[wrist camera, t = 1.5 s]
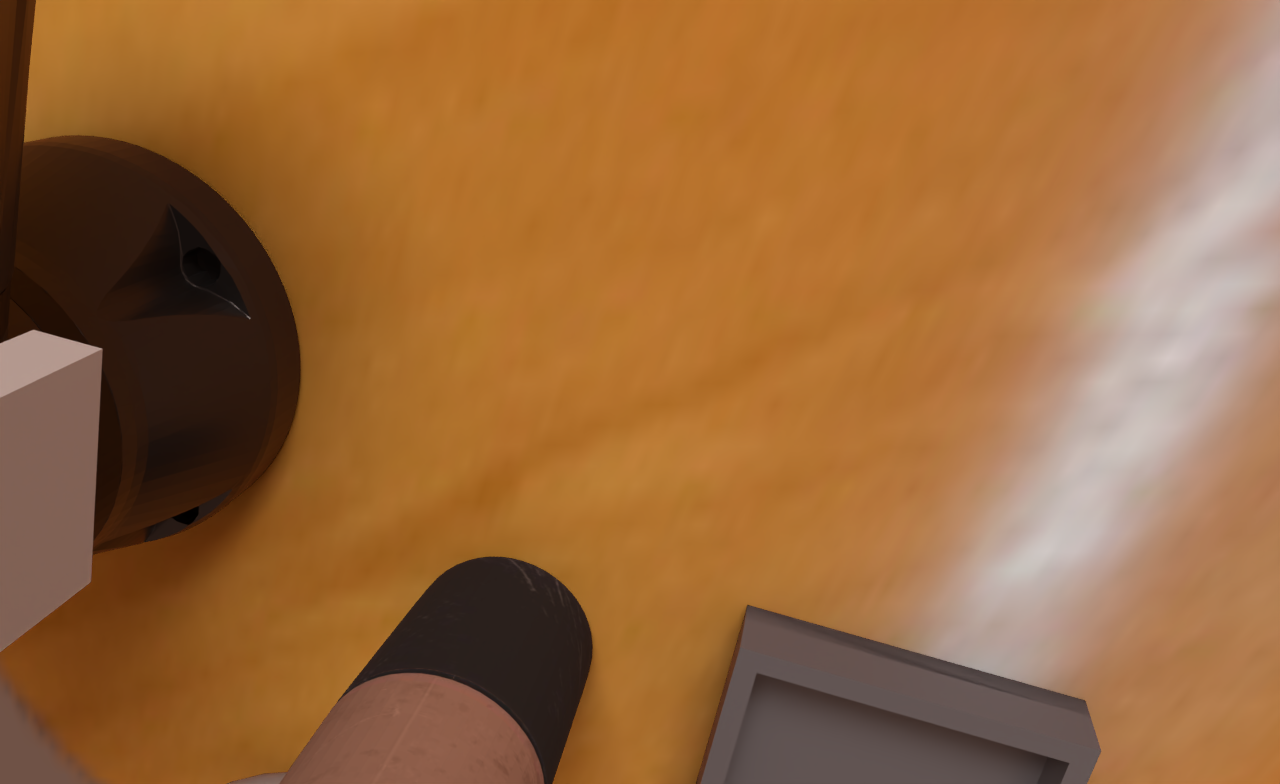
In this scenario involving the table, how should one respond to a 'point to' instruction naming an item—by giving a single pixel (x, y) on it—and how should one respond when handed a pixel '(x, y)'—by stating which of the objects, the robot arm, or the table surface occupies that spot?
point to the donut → (262, 779)
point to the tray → (883, 716)
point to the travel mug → (462, 687)
